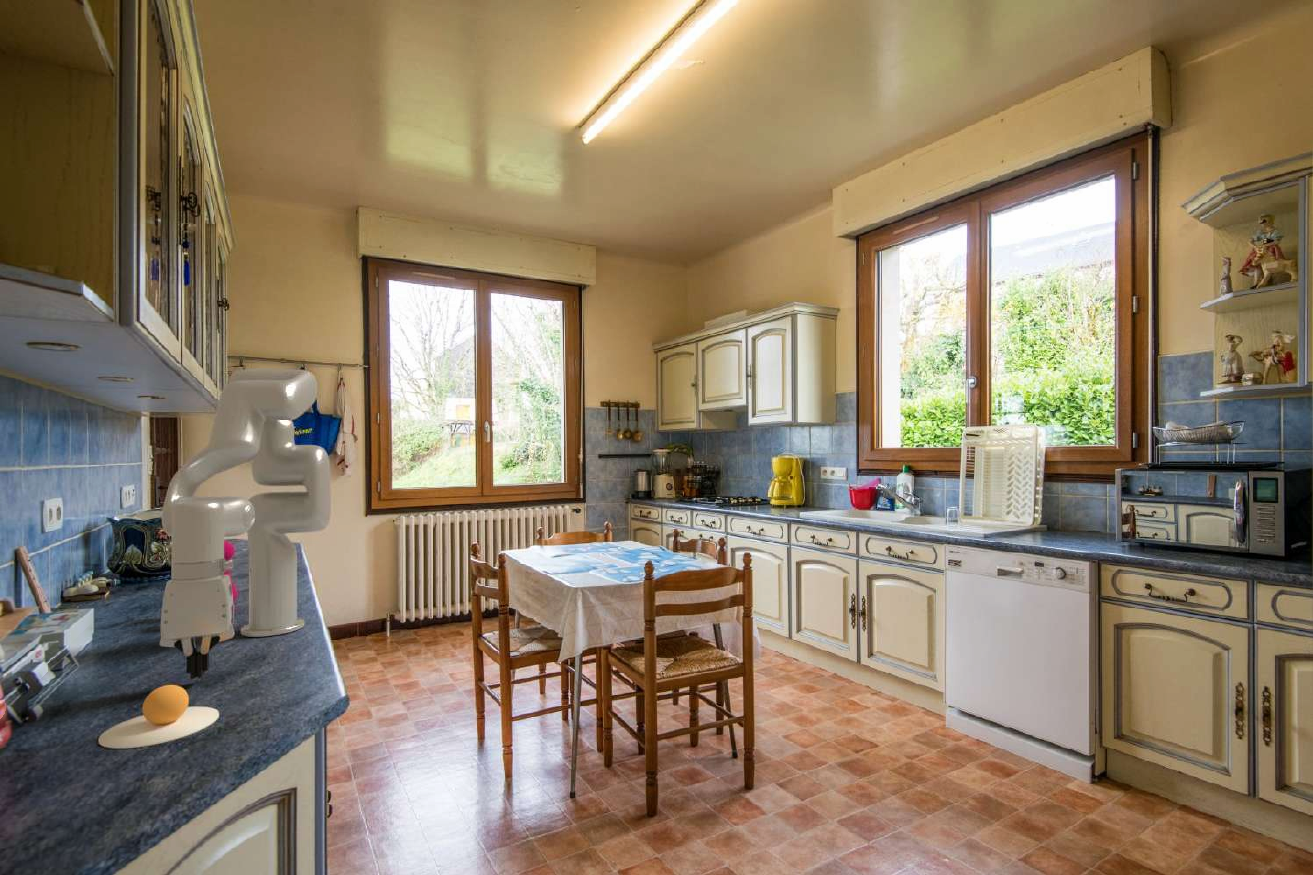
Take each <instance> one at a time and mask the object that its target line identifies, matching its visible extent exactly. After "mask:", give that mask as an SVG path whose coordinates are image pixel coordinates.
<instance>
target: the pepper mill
mask: <svg viewBox="0 0 1313 875" xmlns="http://www.w3.org/2000/svg"><path fill="white" fill-rule="evenodd" d="M225 540H226V537H224V558H225V560H226V562H227V561H229V562H234V561H233V559H232V558H233V557H234V555H235V553H236V549H235V546H234V545H233V543H231V542H229V541H225ZM224 575H229V576H230V580H231V585H232V592H233V603H234V602H236V599H238V596H239V595H238V589H237V587H236V585H235V583H234V582H233V580H232V577H231V569H229V570H226V571H225V573H224ZM235 612H236V604H234V613H235Z"/></svg>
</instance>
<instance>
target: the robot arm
mask: <svg viewBox="0 0 1313 875" xmlns="http://www.w3.org/2000/svg"><path fill="white" fill-rule="evenodd" d="M228 382H229V383H227V384H226V385H225V386H224V387H223V388H222V390H221V393H220V396H219V399H218V404H217V407H216V411H215V416H214V419H213V425H212V428H211V432H210V436H209V441H208V444H207V445H206V446H205V447H204V448H203V449H201V450H200V451H198V452H197V453H195V454H194V455H193V456H191V457H190V458H189V459H187V461H186V462H185V463H184V464H183V465H182V466H181V467H180V468H179V469H178V470H177V471H176V472H175V474H174V475H173V476H172V478H171V480H170V482H169V484H168V487H167V488H168V489H167V491H166V494H165V498H164V503H163V506H162V512H161V525H162V528H163V530H164V532H165V533H166V534H167V535H168V536H170V537H171V579H169V580H168V581H167V582H166V583H165V584H166V585H165V589H164V593H163V599H162V607H161V615H160V616H161V617H160V636H161V637H160V640H159V646H161V647H166V648H167V647H168V648H175V649H177V650H178V651H180V652H182V653H183V656H185V657H186V674H190V680H194V679H196V678H198V679H200V678H203V676H204V675H205V674H206V672H207V671H209V669H210V651H211V649H213V648H214V647H215V646H216V645H217V644H219V643H221V642H223V641H228V640H230V639H233V637H234V636H235V634H236V633H235V629H234V623H235V612H234V605H235V604H234V602H233V592H232V585H231V580H232V579H231V580H230V576H231V575H230V576H229V575H224V573H225V571H226V570H229V569H230V570H234V566H235V563H234V561H232V562H229V561H227V562H226V560H225V558H224V541H225V540H224V537H225V538H226V537H238V536H242V535H244V534H245V533H247V540H248V541H247V542H248V624H246V625H244V626H242V627H241V628H240V634H241V636H244V637H252V638H256V637H257V638H260V637H262V638H263V637H270V636H271V637H272V636H277V635H283V634H287V633H292V632H294V631H298V630H300V629H302V628H304V626H305V621H306V620H304V619H303V618H301V617H300V618H299V617H298V563H297V562H298V554H297V553H298V552H297V549H296V546H295V544H293V542H292V541H291V540H290V538H289V537H288V536H287V535H286V534H294V533H295V534H296V533H297V534H299V533H300V534H301V533H315V532H320V531H321V532H322V531H323V530H325V529H326V528H327V527H328V526H329V523H330V519H331V510H332V509H331V507H332V506H331V462H330V457H329V455H328V453H327V451H326V450H325V448H323V447H322V446H319V445H315V444H299V445H298V444H295V443H296V442H295V433H294V432H295V426H294V425H295V424H294V422H293V421H294V420H297V419H298V418H300V416H302V415H304V413H305V412H307V411H308V410H309V408H311V407H312V406H313V404H314V403H315V402H316V400H317V396H318V392H319V385H318V381H317V378H316V376H315V375H314V374H313V373H312V372H311V371H308V370H306V369H293V368H292V369H286V368H285V369H280V368H279V369H277V368H276V369H275V368H250V369H248V368H247V369H242V370H241V369H239V370H238V371H235V372H233V373H232V374H231V375H230V376H229V381H228ZM250 461H251V474H252V479H253V481H254V482H255V483H256V484H257V485H259V486H264V487H297V486H302V487H305V490H306V491H269V492H268V491H267V492H262V493H258V494H255V495H253V496H251V497H250V498H248V499H247V498H245V497H242V496H195V494H196V492H197V490H199V488H200V487H201V485H203V484H204V483H205V482H206V481H209V479H211V478H213V477H214V476H217V475H218V474H220V473H223V472H226V471H229V470H231V469H234V468H236V467H238V466H241V465H243V464H245V463H247V462H250ZM194 496H195V497H194ZM201 637H202V640H201V645H200V649H199V650H198V648H197V646H196V643H195V638H201Z"/></svg>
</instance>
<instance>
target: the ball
mask: <svg viewBox="0 0 1313 875" xmlns="http://www.w3.org/2000/svg"><path fill="white" fill-rule="evenodd" d="M189 698H190V696H189V693H188V692H187V691H186V689H184V688H183V687H182V686H179V685H176V684H166V685H162V686H160V687H157V688H155V689H154V690H152V691H150V693H149V694H148V695H147V696H146V698H145V699H144V702H143V704H142V708H141V709H142V710H141V711H142V714H143V715H144V717H145V718H146V720H148V721H149V722H151V723H153V724H158V725H162V724H168V723H171V722H173V721H175V720H177V719H178V718H179V717H180V716H182V714H183V713H184V712H185V711H186V709H187V707H189V702H190V699H189Z"/></svg>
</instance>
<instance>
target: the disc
mask: <svg viewBox="0 0 1313 875" xmlns="http://www.w3.org/2000/svg"><path fill="white" fill-rule="evenodd" d="M219 717H220V712H219V710H218V709H216V708H214V707H210V706H188V707H187V709H186V711H185V712H184V713H183V714H182V716H180V717H179V718H178V719H177V720H175V721H173V722H171V723H168V724H162V725H158V724H153V723H151V722H149V721H148V720H146V718H145V717H144V715H139V716H136V717H133V718H131V719H127V720H125V721H122V722H120V723H118V724H116V725H114V726H112V727H110V728H108V729H107V730H106V731H105V730H104V732H103V733H101V734H100V736H99V738H98V744H99V745H100V746H102V747H104V748H106V749H117V750H120V749H121V750H123V749H136V748H142V747H143V748H144V747H149V746H155V745H159V744H164V743H168V742H171V741H175V740H178V739H182V738H185V737H188V736H190V735H193V734H196V733H198V732H200V731H202V730H204V729H206V728H208V727H209V726H211V725H212V724H214V723H215V722H216V721H217V720H218V719H219Z"/></svg>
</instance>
